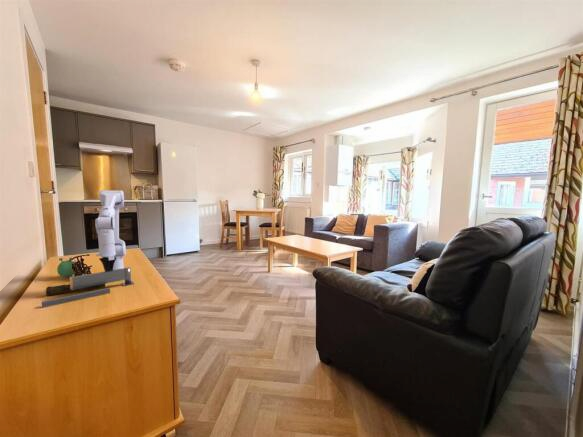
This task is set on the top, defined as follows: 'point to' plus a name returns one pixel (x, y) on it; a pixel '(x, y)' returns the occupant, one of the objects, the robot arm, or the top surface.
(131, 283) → the gate base
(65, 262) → the alien toy
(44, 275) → the top surface
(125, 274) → the swing gate
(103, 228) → the robot arm
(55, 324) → the top surface
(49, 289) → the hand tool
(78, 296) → the bar
